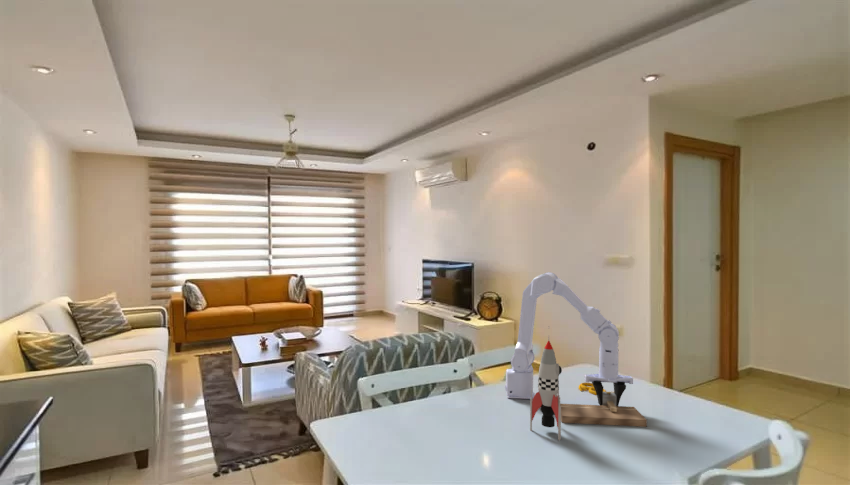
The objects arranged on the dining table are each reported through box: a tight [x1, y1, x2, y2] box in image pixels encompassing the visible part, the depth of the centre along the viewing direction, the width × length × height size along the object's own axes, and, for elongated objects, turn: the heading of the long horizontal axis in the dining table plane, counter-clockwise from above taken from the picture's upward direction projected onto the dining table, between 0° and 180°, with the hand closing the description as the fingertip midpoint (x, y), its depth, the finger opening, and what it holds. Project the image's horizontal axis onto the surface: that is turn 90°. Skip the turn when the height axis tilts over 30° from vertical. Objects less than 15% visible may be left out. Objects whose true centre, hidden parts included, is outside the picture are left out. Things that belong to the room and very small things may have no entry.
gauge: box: [602, 391, 617, 412], centre depth 137 cm, size 4×10×6 cm, turn 168°
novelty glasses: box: [578, 382, 607, 396], centre depth 156 cm, size 17×2×10 cm
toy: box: [529, 325, 563, 441], centre depth 124 cm, size 9×8×30 cm
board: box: [560, 403, 648, 428], centre depth 134 cm, size 24×10×2 cm, turn 84°
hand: (608, 404), depth 141 cm, fingers closed on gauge, 4 cm apart
